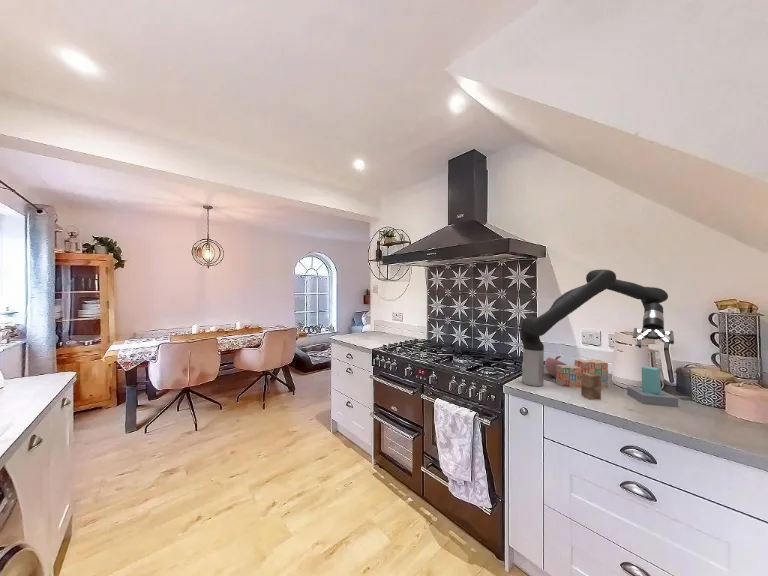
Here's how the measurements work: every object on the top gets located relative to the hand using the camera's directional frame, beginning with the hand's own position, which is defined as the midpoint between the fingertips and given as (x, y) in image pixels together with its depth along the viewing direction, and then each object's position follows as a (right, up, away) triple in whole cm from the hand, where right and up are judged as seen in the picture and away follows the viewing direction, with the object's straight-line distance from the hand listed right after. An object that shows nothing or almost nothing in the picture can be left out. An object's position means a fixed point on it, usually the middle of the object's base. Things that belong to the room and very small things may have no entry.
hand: (652, 348), depth 135 cm
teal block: (-8, -17, -9) cm, 21 cm away
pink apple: (-29, -21, +25) cm, 44 cm away
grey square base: (-8, -21, -9) cm, 24 cm away
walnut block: (-32, -20, -6) cm, 39 cm away
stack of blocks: (-25, -21, +11) cm, 35 cm away
